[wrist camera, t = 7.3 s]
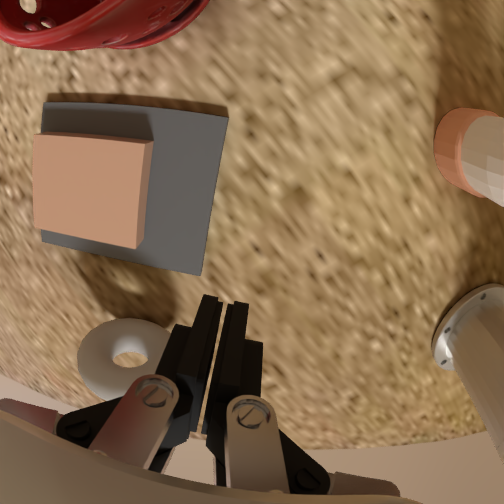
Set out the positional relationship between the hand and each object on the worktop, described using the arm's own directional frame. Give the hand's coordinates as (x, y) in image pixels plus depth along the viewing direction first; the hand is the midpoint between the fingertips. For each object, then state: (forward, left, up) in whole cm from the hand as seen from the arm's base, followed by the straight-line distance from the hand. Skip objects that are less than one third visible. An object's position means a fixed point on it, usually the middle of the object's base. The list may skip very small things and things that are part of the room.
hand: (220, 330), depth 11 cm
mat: (+10, 0, -15) cm, 18 cm away
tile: (+7, 0, -13) cm, 14 cm away
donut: (+7, +14, -15) cm, 21 cm away
